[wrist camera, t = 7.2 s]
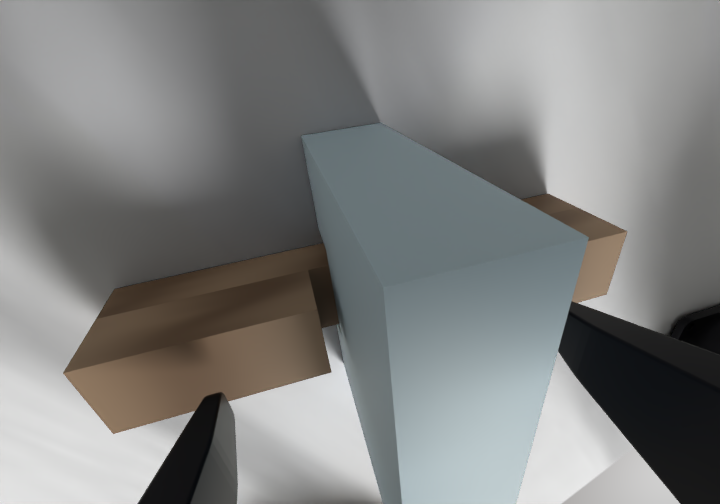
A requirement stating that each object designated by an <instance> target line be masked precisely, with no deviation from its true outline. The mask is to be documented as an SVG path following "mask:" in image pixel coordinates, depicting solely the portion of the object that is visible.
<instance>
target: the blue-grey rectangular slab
mask: <svg viewBox="0 0 720 504" xmlns="http://www.w3.org/2000/svg"><path fill="white" fill-rule="evenodd" d="M301 137H302V143H303V148H304V153H305V159H306V164H307V169H308V175H309V180H310V185H311V191H312V196H313V201H314V207H315V212H316V217H317V223H318V228H319V231H320V234H321V237H322V240H323V243H324V246H325V248H326V253H327V258H328V264H329V269H330V275H331V280H332V286H333V291H334V297H335V302H336V308H337V313H338V319H339V324H337V329H338V335H339V340H340V345H341V351H342V356H343V361H344V366H345V369H346V373H347V377H348V380H349V384H350V387H351V391H352V394H353V398H354V402H355V405H356V409H357V412H358V416H359V420H360V423H361V427H362V430H363V434H364V437H365V441H366V445H367V448H368V452H369V455H370V459H371V462H372V466H373V470H374V473H375V477H376V480H377V484H378V487H379V491H380V495H381V498H382V502H383V504H516V502H517V498H518V495H519V491H520V487H521V484H522V480H523V476H524V473H525V469H526V466H527V462H528V458H529V455H530V451H531V447H532V444H533V440H534V436H535V433H536V429H537V425H538V422H539V418H540V414H541V411H542V407H543V403H544V400H545V396H546V392H547V389H548V385H549V381H550V378H551V374H552V371H553V367H554V363H555V360H556V356H557V352H558V349H559V345H560V341H561V338H562V334H563V330H564V327H565V323H566V319H567V316H568V312H569V308H570V305H571V301H572V297H573V294H574V290H575V286H576V283H577V279H578V276H579V272H580V268H581V265H582V261H583V257H584V254H585V250H586V246H587V243H588V239H589V237H587V236H586V235H584V234H582V233H580V232H578V231H577V230H575V229H573V228H571V227H569V226H568V225H566V224H564V223H562V222H560V221H558V220H557V219H555V218H553V217H551V216H549V215H548V214H546V213H544V212H542V211H540V210H538V209H537V208H535V207H533V206H531V205H529V204H528V203H526V202H524V201H522V200H520V199H519V198H517V197H515V196H513V195H511V194H509V193H508V192H506V191H504V190H502V189H500V188H499V187H497V186H495V185H493V184H491V183H489V182H488V181H486V180H484V179H482V178H480V177H479V176H477V175H475V174H473V173H471V172H470V171H468V170H466V169H464V168H462V167H460V166H459V165H457V164H455V163H453V162H451V161H450V160H448V159H446V158H444V157H442V156H440V155H439V154H437V153H435V152H433V151H431V150H430V149H428V148H426V147H424V146H422V145H421V144H419V143H417V142H415V141H413V140H411V139H410V138H408V137H406V136H404V135H402V134H401V133H399V132H397V131H395V130H393V129H391V128H390V127H388V126H386V125H384V124H382V123H376V124H370V125H364V126H358V127H352V128H345V129H339V130H333V131H327V132H321V133H315V134H309V135H303V136H301Z"/></svg>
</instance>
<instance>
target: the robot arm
mask: <svg viewBox="0 0 720 504" xmlns="http://www.w3.org/2000/svg"><path fill="white" fill-rule="evenodd" d="M558 352H559V353H560V355H561V356H562V358H563V359H564V361H565V362H566V364H567V365H568V366H569V368H570V369H571V371H572V372H573V374H574V375H575V376H576V378H577V379H578V380H579V381H580V383H581V384H582V385H583V386H584V388H585V389H586V390H587V391H588V392H589V394H590V395H591V396H592V397H593V398H594V400H595V401H596V402H597V403H598V405H599V406H600V407H601V408H602V409H603V411H604V412H605V413H606V414H607V415H608V417H609V418H610V419H611V420H612V421H613V423H614V424H615V425H616V426H617V428H618V429H619V430H620V431H621V432H622V434H623V435H624V436H625V437H626V438H627V440H628V441H629V442H630V443H631V445H632V446H633V447H634V448H635V449H636V450H637V452H638V453H639V454H640V455H641V457H642V458H643V459H644V460H645V461H646V463H647V464H648V465H649V466H650V467H651V469H652V470H653V471H654V472H655V474H656V475H657V476H658V477H659V478H660V480H661V481H662V482H663V483H664V484H665V486H666V487H667V488H668V489H669V490H670V492H671V493H672V494H673V495H674V496H675V498H676V499H677V500H678V501H679V503H680V504H720V306H717V307H714V308H710V309H707V310H704V311H701V312H697V313H694V314H691V315H688V316H685V317H683V318H682V319H681V320H680V321H679V322H678V323H677V325H676V327H675V329H674V331H673V333H672V335H671V337H669V336H666V335H664V334H661V333H658V332H655V331H653V330H650V329H647V328H644V327H642V326H639V325H636V324H633V323H630V322H628V321H625V320H622V319H619V318H617V317H614V316H611V315H608V314H606V313H603V312H600V311H597V310H595V309H592V308H589V307H586V306H584V305H581V304H578V303H575V302H573V301H571V305H570V308H569V312H568V316H567V319H566V323H565V327H564V330H563V334H562V338H561V341H560V345H559V349H558ZM237 486H238V483H237V458H236V435H235V418H234V413H233V411H232V409H231V406H230V404H229V402H228V400H227V398H226V396H225V394H224V393H223V392H218V393H214V394H210V395H207V396H205V397H204V398H203V400H202V401H201V403H200V404H199V406H198V408H197V409H196V411H195V412H194V414H193V416H192V417H191V419H190V420H189V422H188V424H187V425H186V427H185V428H184V430H183V432H182V433H181V435H180V437H179V438H178V440H177V441H176V443H175V445H174V446H173V448H172V449H171V451H170V453H169V454H168V456H167V457H166V459H165V461H164V462H163V464H162V465H161V467H160V469H159V470H158V472H157V473H156V475H155V477H154V478H153V480H152V481H151V483H150V485H149V486H148V488H147V489H146V491H145V493H144V494H143V496H142V497H141V499H140V501H139V502H138V504H237Z"/></svg>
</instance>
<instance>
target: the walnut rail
mask: <svg viewBox="0 0 720 504" xmlns="http://www.w3.org/2000/svg"><path fill="white" fill-rule="evenodd" d="M521 200H522V201H524V202H526V203H528V204H529V205H531V206H533V207H535V208H537V209H538V210H540V211H542V212H544V213H546V214H548V215H549V216H551V217H553V218H555V219H557V220H558V221H560V222H562V223H564V224H566V225H568V226H569V227H571V228H573V229H575V230H577V231H578V232H580V233H582V234H584V235H586V236H587V237H589V239H588V243H587V246H586V250H585V254H584V257H583V261H582V265H581V268H580V272H579V276H578V279H577V283H576V286H575V290H574V294H573V297H572V301H573V302H575V303H578V302H582V301H585V300H589V299H592V298H596V297H599V296H603V295H606V294H607V291H608V288H609V285H610V282H611V279H612V276H613V273H614V270H615V267H616V264H617V261H618V258H619V255H620V252H621V249H622V246H623V243H624V240H625V237H626V234H627V231H625V230H623V229H621V228H619V227H617V226H615V225H613V224H611V223H609V222H606V221H604V220H602V219H600V218H598V217H596V216H594V215H592V214H590V213H588V212H586V211H583V210H581V209H579V208H577V207H575V206H573V205H571V204H569V203H567V202H565V201H562V200H560V199H558V198H556V197H554V196H552V195H550V194H544V195H539V196H535V197H530V198H526V199H521ZM336 324H339V319H338V313H337V308H336V302H335V297H334V291H333V286H332V280H331V275H330V269H329V264H328V258H327V253H326V248H325V246H324V243H321V244H317V245H312V246H308V247H303V248H299V249H294V250H290V251H285V252H281V253H276V254H272V255H267V256H262V257H258V258H253V259H249V260H244V261H240V262H235V263H231V264H226V265H222V266H217V267H213V268H208V269H203V270H199V271H194V272H190V273H185V274H181V275H176V276H172V277H167V278H163V279H158V280H154V281H149V282H144V283H140V284H135V285H131V286H126V287H122V288H117V289H114V291H113V292H112V294H111V295H110V297H109V299H108V300H107V302H106V304H105V305H104V307H103V309H102V310H101V312H100V313H99V315H98V317H97V318H96V320H95V322H94V323H93V325H92V327H91V328H90V330H89V332H88V333H87V335H86V336H85V338H84V340H83V341H82V343H81V345H80V346H79V348H78V350H77V351H76V353H75V354H74V356H73V358H72V359H71V361H70V363H69V364H68V366H67V368H66V369H65V371H64V373H63V374H64V375H65V376H66V377H67V379H68V380H69V381H70V382H71V383H72V385H73V386H74V387H75V388H76V389H77V391H78V392H79V393H80V394H81V395H82V397H83V398H84V399H85V400H86V402H87V403H88V404H89V405H90V406H91V408H92V409H93V410H94V411H95V412H96V414H97V415H98V416H99V417H100V418H101V420H102V421H103V422H104V423H105V424H106V426H107V427H108V428H109V429H110V430H111V432H112V433H113V434H115V433H118V432H122V431H125V430H129V429H132V428H136V427H139V426H143V425H146V424H150V423H154V422H157V421H161V420H164V419H168V418H171V417H175V416H178V415H182V414H185V413H189V412H192V411H196V409H197V408H198V406H199V404H200V403H201V401H202V400H203V398H204V397H205V396H207V395H210V394H214V393H218V392H223V393H224V394H225V396H226V398H227V400H228V401H231V400H235V399H238V398H242V397H245V396H249V395H253V394H256V393H260V392H263V391H267V390H270V389H274V388H277V387H281V386H284V385H288V384H291V383H295V382H299V381H302V380H306V379H309V378H313V377H316V376H320V375H323V374H327V373H330V372H331V368H330V364H329V359H328V355H327V351H326V346H325V342H324V337H323V333H322V328H324V327H328V326H332V325H336Z"/></svg>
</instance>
